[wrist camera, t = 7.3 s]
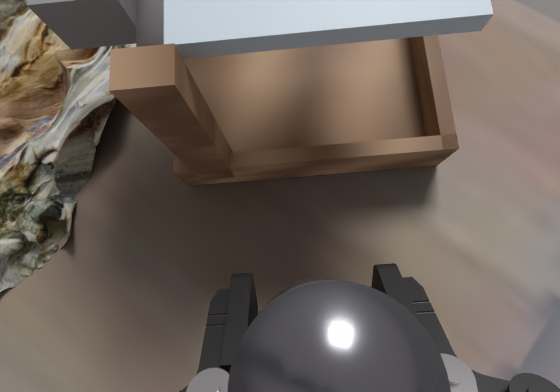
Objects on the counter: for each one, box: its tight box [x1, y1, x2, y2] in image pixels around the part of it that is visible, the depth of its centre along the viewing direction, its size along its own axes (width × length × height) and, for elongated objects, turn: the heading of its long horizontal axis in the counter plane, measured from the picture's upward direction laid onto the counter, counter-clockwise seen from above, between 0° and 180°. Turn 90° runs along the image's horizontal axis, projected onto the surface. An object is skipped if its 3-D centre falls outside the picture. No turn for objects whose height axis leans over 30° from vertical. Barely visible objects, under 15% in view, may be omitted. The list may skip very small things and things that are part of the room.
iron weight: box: [228, 278, 451, 392], centre depth 12 cm, size 4×4×10 cm
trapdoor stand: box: [109, 35, 459, 186], centre depth 18 cm, size 15×14×12 cm
